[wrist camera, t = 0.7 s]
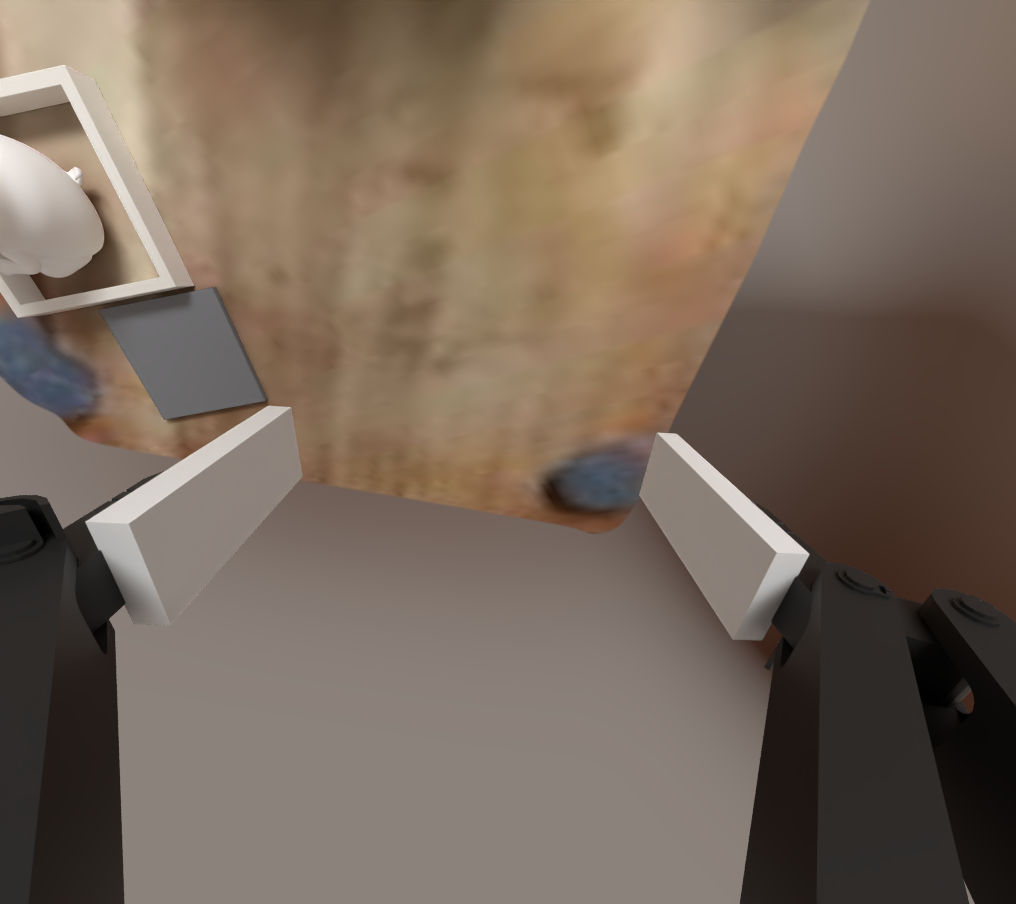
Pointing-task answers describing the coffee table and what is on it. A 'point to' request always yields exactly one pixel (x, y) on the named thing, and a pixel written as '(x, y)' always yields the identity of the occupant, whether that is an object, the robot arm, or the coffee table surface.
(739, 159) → the coffee table surface
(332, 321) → the coffee table surface
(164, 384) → the coaster pad
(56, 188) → the figurine
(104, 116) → the bin frame
